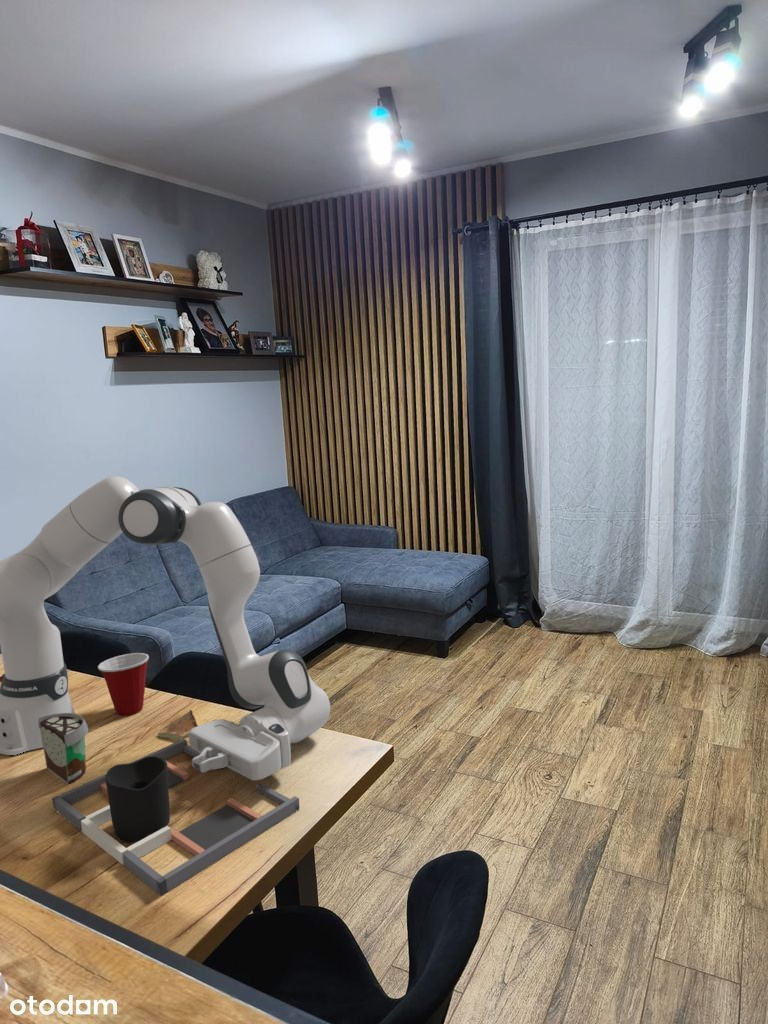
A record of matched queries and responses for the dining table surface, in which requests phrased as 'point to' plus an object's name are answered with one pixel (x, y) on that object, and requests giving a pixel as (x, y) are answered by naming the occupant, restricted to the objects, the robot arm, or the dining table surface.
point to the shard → (179, 727)
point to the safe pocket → (115, 847)
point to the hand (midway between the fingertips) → (196, 766)
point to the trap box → (200, 838)
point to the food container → (64, 745)
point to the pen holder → (138, 798)
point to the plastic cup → (126, 681)
